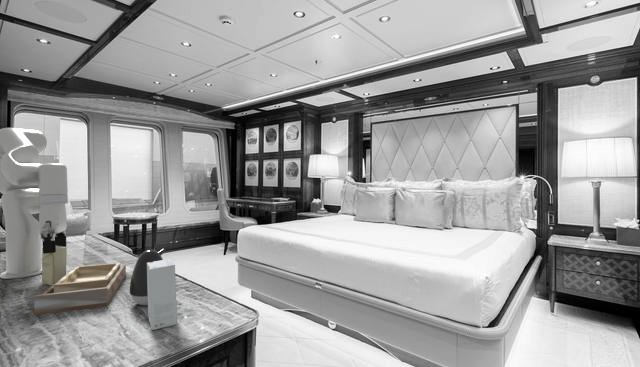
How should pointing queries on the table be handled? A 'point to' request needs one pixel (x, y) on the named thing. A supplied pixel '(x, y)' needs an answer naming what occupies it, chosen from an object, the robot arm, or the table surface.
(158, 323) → the skincare box
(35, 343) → the table surface
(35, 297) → the wooden serving tray
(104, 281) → the birch crate
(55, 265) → the skincare box
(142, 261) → the black penguin figurine
